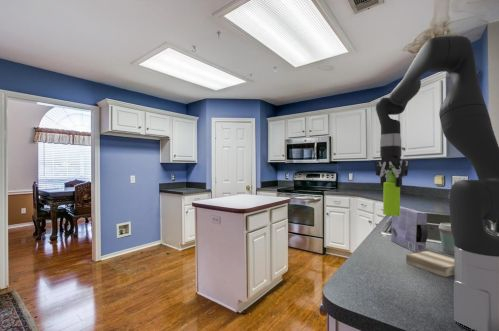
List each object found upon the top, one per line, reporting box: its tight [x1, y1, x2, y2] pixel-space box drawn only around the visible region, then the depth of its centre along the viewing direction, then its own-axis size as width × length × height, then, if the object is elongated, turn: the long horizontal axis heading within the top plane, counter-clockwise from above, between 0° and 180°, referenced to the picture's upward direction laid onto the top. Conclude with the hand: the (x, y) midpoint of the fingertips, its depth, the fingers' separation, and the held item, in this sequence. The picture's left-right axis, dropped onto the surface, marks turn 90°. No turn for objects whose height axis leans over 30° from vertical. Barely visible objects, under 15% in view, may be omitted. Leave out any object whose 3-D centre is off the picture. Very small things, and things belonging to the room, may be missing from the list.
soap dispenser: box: [382, 166, 401, 217], centre depth 98 cm, size 6×7×20 cm
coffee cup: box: [438, 222, 454, 256], centre depth 103 cm, size 8×9×12 cm
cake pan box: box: [390, 205, 429, 254], centre depth 111 cm, size 19×5×18 cm, turn 0°
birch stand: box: [405, 250, 454, 278], centre depth 88 cm, size 13×13×3 cm
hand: (390, 186), depth 98 cm, fingers closed on soap dispenser, 6 cm apart
